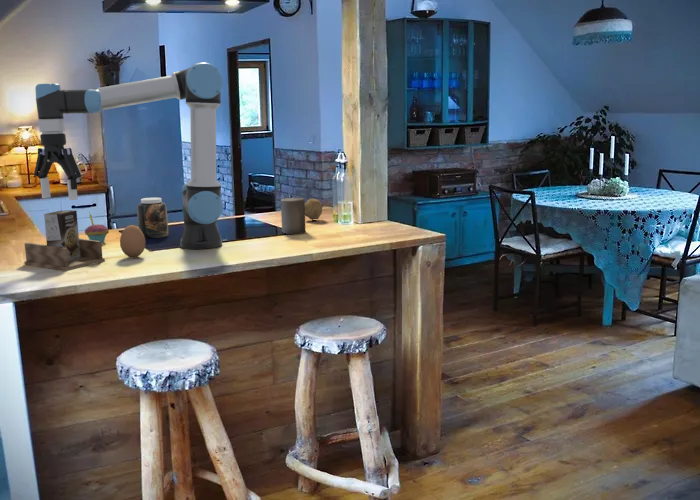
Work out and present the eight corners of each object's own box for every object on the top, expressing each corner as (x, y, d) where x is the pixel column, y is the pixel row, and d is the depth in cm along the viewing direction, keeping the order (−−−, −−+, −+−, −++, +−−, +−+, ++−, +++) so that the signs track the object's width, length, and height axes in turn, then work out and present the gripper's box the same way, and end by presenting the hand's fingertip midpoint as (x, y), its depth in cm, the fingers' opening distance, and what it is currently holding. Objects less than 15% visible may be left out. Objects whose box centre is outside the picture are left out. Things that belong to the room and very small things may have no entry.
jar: (132, 237, 281) (129, 200, 278) (150, 232, 291) (148, 196, 288) (156, 239, 276) (154, 201, 273) (174, 234, 287) (172, 197, 284)
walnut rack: (104, 261, 237) (103, 240, 235) (63, 270, 223) (61, 249, 222) (65, 255, 247) (63, 235, 245) (24, 264, 233) (22, 243, 232)
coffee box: (65, 263, 230) (60, 214, 226) (47, 262, 231) (42, 213, 228) (81, 257, 238) (77, 210, 235) (64, 256, 240) (60, 209, 237)
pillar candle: (310, 231, 289) (309, 195, 286) (296, 235, 281) (294, 197, 278) (291, 230, 294) (290, 194, 291) (276, 233, 286) (275, 196, 283)
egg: (122, 261, 237) (120, 227, 235) (119, 256, 244) (117, 224, 242) (148, 258, 240) (145, 225, 238) (144, 254, 247) (142, 222, 245)
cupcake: (87, 245, 265) (84, 214, 262) (84, 242, 272) (81, 211, 270) (111, 243, 268) (108, 212, 266) (107, 240, 276) (105, 209, 274)
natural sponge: (300, 222, 313) (300, 199, 311) (305, 219, 322) (304, 197, 320) (320, 222, 312) (320, 199, 310) (324, 219, 320) (324, 197, 318)
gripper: (88, 132, 223) (94, 199, 228) (38, 132, 236) (45, 195, 240) (68, 133, 217) (75, 202, 221) (17, 133, 230) (25, 198, 234)
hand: (59, 198), depth 231 cm, fingers open, 13 cm apart
